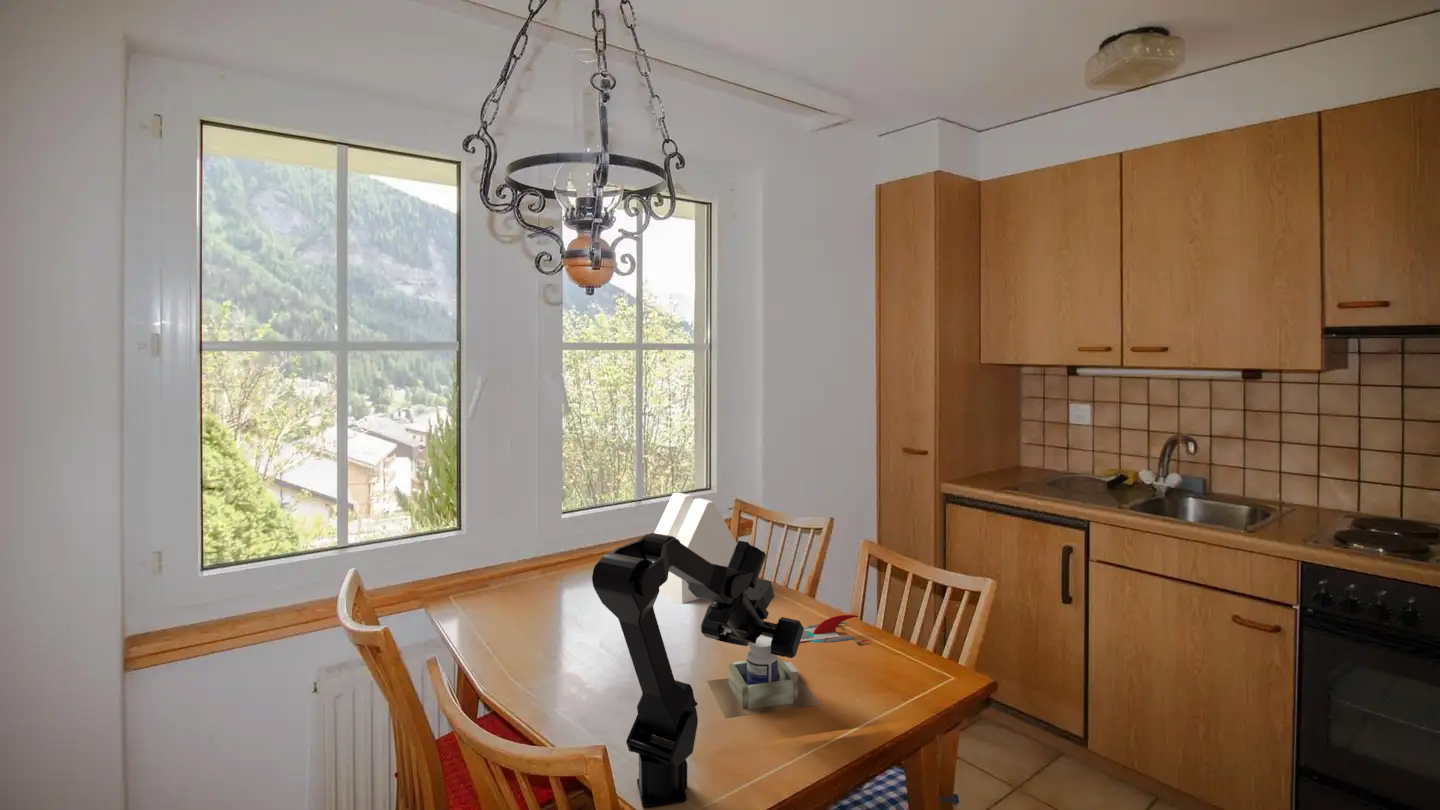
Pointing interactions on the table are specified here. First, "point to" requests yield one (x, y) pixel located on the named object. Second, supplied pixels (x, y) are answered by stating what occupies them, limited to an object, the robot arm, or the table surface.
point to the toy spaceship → (826, 631)
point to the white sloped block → (695, 537)
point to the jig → (760, 692)
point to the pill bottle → (761, 662)
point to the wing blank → (792, 669)
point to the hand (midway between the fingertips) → (765, 648)
